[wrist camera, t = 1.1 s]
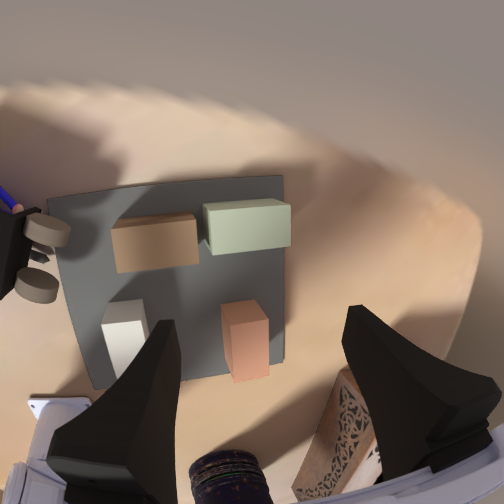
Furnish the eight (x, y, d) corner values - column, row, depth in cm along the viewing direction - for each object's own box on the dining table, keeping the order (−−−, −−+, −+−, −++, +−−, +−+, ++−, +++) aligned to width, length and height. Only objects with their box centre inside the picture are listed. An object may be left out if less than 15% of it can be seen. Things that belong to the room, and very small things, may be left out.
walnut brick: (190, 210, 26) (195, 219, 22) (193, 248, 26) (199, 263, 23) (117, 219, 24) (110, 229, 20) (122, 257, 25) (117, 273, 21)
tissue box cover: (338, 369, 36) (383, 421, 27) (416, 357, 41) (461, 393, 31) (290, 486, 42) (313, 530, 33) (360, 468, 47) (386, 503, 37)
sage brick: (272, 198, 27) (290, 204, 24) (273, 234, 28) (290, 246, 24) (202, 203, 26) (209, 211, 22) (204, 241, 27) (212, 255, 23)
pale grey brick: (153, 355, 28) (155, 381, 24) (121, 359, 27) (119, 385, 24) (142, 298, 26) (140, 320, 23) (107, 302, 26) (101, 324, 22)
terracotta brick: (256, 352, 31) (269, 375, 27) (224, 358, 30) (234, 382, 27) (254, 299, 29) (268, 319, 26) (220, 304, 29) (229, 325, 25)
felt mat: (282, 360, 33) (283, 362, 32) (94, 387, 28) (94, 389, 27) (281, 175, 27) (282, 175, 27) (48, 199, 22) (47, 199, 22)
